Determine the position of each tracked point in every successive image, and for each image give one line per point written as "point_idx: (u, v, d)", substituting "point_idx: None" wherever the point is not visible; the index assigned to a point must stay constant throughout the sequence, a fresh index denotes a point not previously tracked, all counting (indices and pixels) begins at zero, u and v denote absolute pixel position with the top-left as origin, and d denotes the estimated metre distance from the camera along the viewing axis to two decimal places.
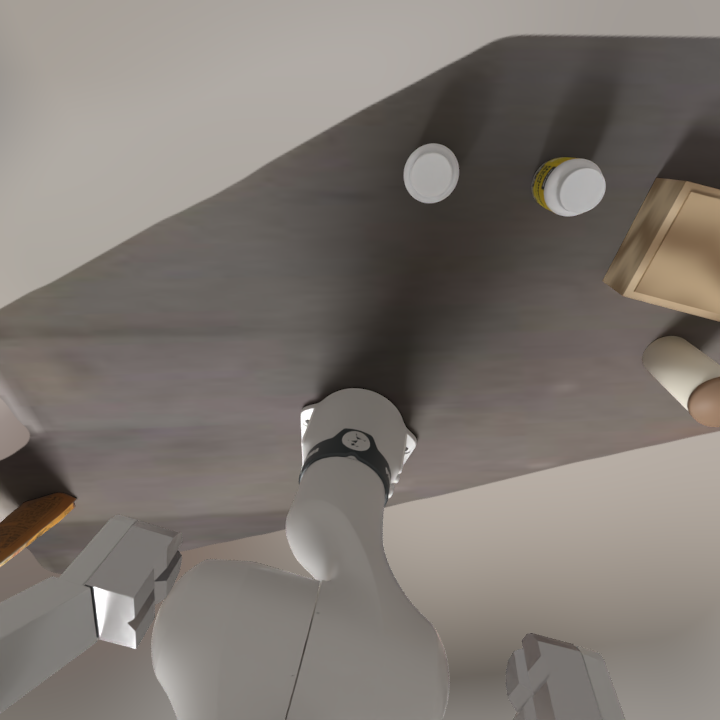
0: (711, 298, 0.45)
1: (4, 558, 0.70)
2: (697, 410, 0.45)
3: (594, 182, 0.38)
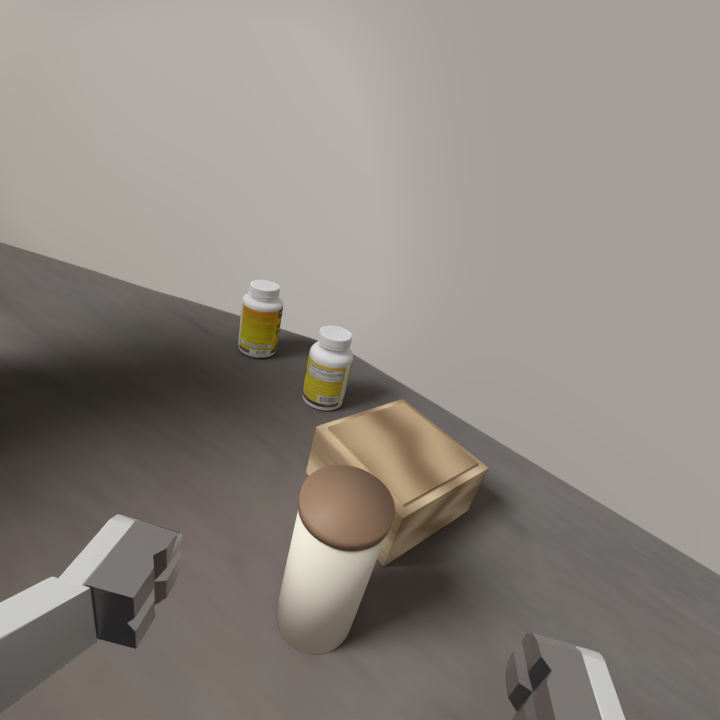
0: (392, 475, 0.36)
1: None
2: (311, 487, 0.25)
3: (345, 334, 0.50)
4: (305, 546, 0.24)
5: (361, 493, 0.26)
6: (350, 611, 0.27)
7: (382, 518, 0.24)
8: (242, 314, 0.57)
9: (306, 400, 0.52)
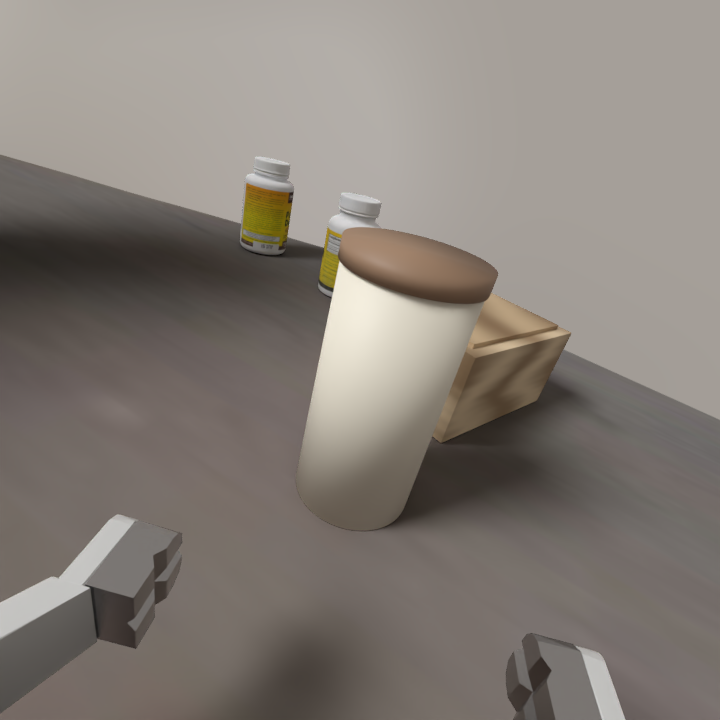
0: None
1: None
2: (359, 234, 0.15)
3: (373, 200, 0.40)
4: (352, 313, 0.14)
5: (438, 251, 0.16)
6: (415, 454, 0.17)
7: (480, 271, 0.15)
8: (245, 197, 0.47)
9: (323, 288, 0.42)
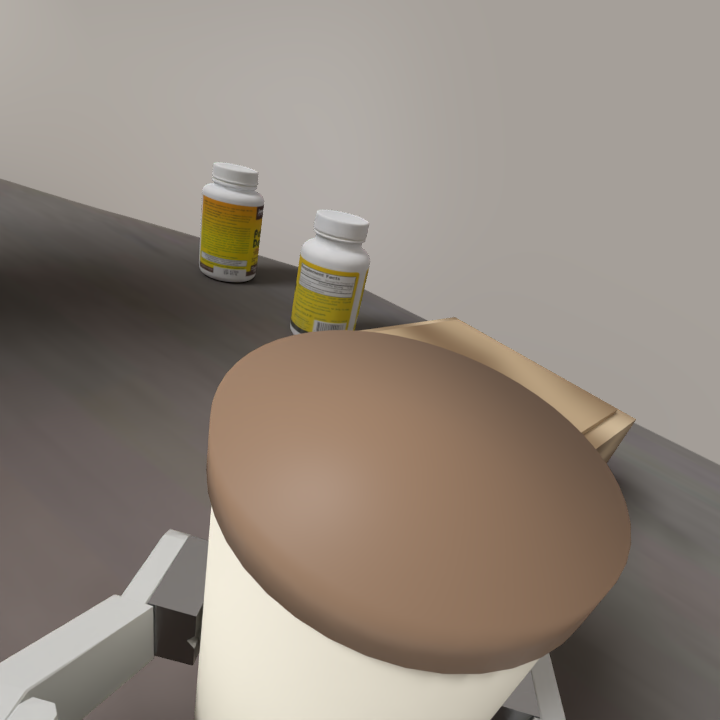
0: None
1: None
2: (270, 373, 0.06)
3: (358, 219, 0.31)
4: (233, 621, 0.05)
5: (462, 405, 0.07)
6: None
7: (580, 495, 0.05)
8: (202, 212, 0.38)
9: (296, 331, 0.33)
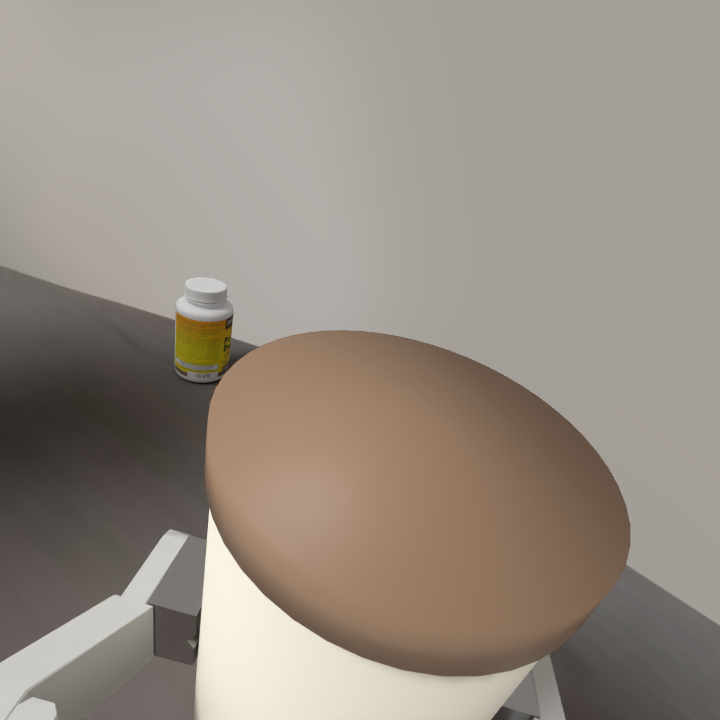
0: None
1: None
2: (268, 374, 0.06)
3: None
4: (231, 623, 0.05)
5: (461, 406, 0.07)
6: None
7: (579, 496, 0.05)
8: (176, 324, 0.42)
9: None
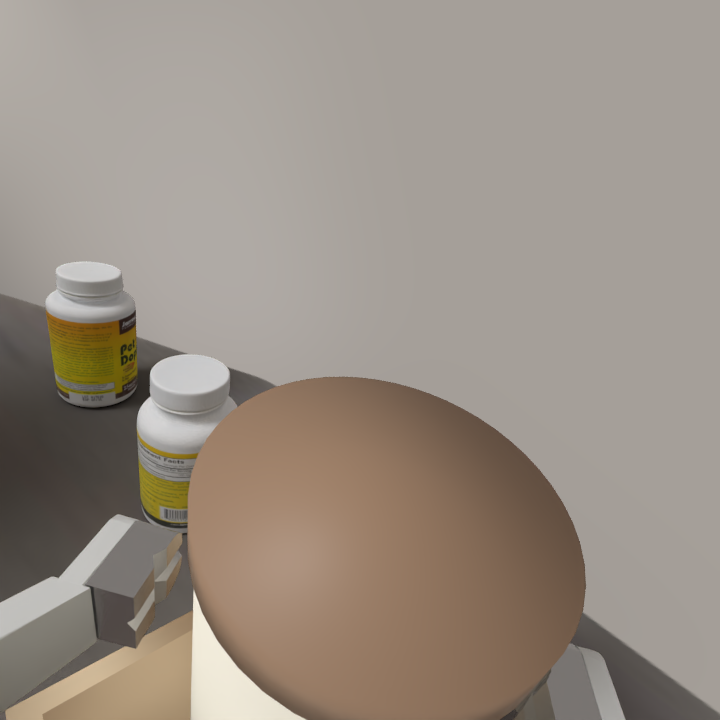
0: None
1: None
2: (249, 435, 0.07)
3: (213, 375, 0.22)
4: (214, 679, 0.06)
5: (434, 459, 0.07)
6: None
7: (540, 557, 0.06)
8: (48, 327, 0.30)
9: (143, 511, 0.25)
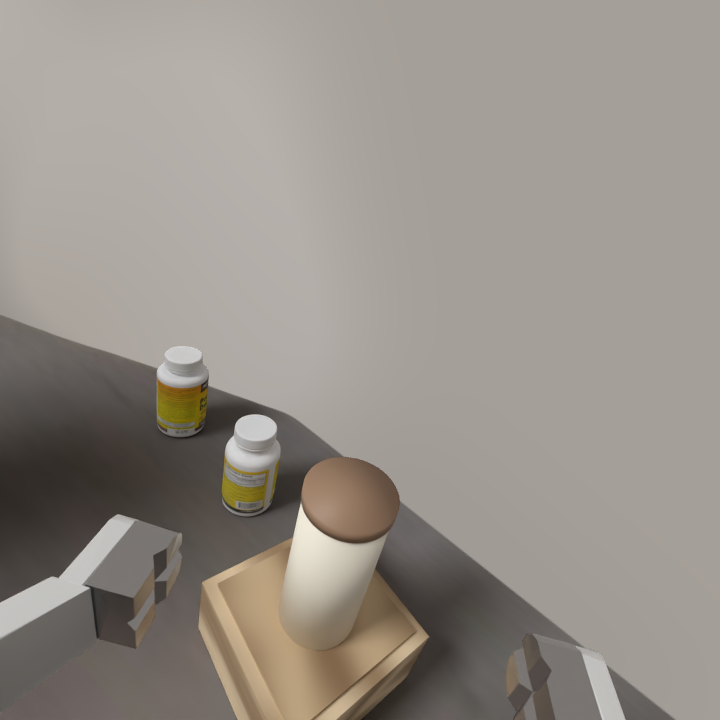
0: (288, 673, 0.26)
1: None
2: (314, 479, 0.25)
3: (268, 428, 0.40)
4: (308, 538, 0.24)
5: (365, 485, 0.25)
6: (354, 606, 0.26)
7: (386, 510, 0.24)
8: (157, 388, 0.48)
9: (224, 503, 0.43)
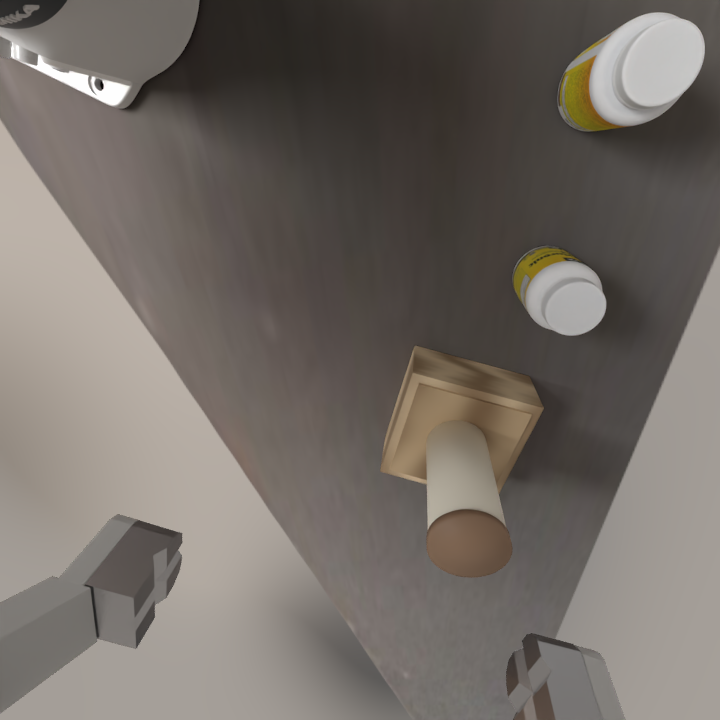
0: (410, 452, 0.41)
1: None
2: (456, 525, 0.28)
3: (584, 321, 0.29)
4: (428, 517, 0.31)
5: (483, 552, 0.29)
6: None
7: (472, 571, 0.30)
8: (588, 59, 0.26)
9: (514, 270, 0.37)
